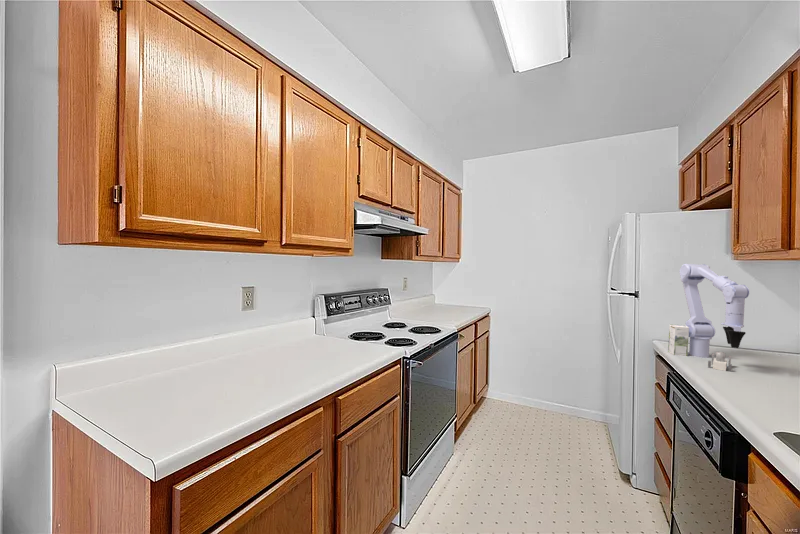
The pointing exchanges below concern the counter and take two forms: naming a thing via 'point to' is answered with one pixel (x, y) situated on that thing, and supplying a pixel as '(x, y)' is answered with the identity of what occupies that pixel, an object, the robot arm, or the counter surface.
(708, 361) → the socket
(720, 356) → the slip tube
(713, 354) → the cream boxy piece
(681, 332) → the syrup box
